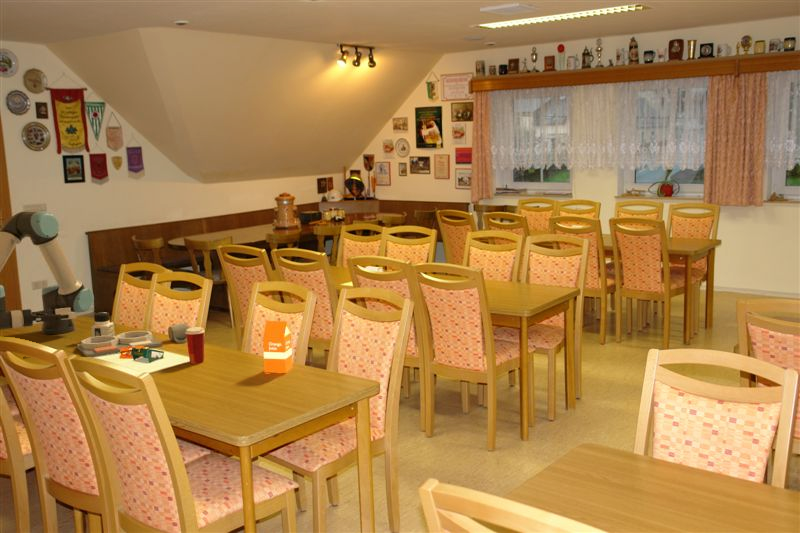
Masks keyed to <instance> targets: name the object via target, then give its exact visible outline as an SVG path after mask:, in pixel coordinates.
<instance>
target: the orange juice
mask: <svg viewBox="0 0 800 533" xmlns="http://www.w3.org/2000/svg"><path fill="white" fill-rule="evenodd" d="M262 342H263V343H262V344H263V346H262V347H263V361H264V364H263V365H264V373H265V372H277V373H286V372H288V371H289V370H290V369H291V368H292V369H293V350H292V349H293V348H292V333H291V330H290V327H289V324H288V321H286V320H285V321H284V320H283V321H281V320H280V321H279V320H266V321H265V325H264V331H263V336H262ZM292 369H291V370H292ZM291 370H290V371H291ZM290 371H289V372H290ZM289 372H288V373H289Z"/></svg>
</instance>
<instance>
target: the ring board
mask: <svg viewBox="0 0 800 533" xmlns="http://www.w3.org/2000/svg"><path fill="white" fill-rule="evenodd" d="M128 346H131V347H132V346H144V347H149V348H148V349H154V348H160V347H161V348H162V347H163V343H162V342H161V341H159V340H158V339H157V338H155V337H154V336H153V333H152V332H151V331H150V330H132V331H127V332H126V331H125V332H122V333H119V334H117V335H115V336H96V337H92V336H90V337H87V338H85V339H82V340H81V341H80V343H78V344H76V348H77V349H78V351H80V353H82V354H83V356H84V357H85V358H87V357H90V358H95V357H101V356H108V355H107V354H110V355H112V354H111V353H116V354H119V353H118V352H120V349H121V348H124V347H128Z"/></svg>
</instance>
